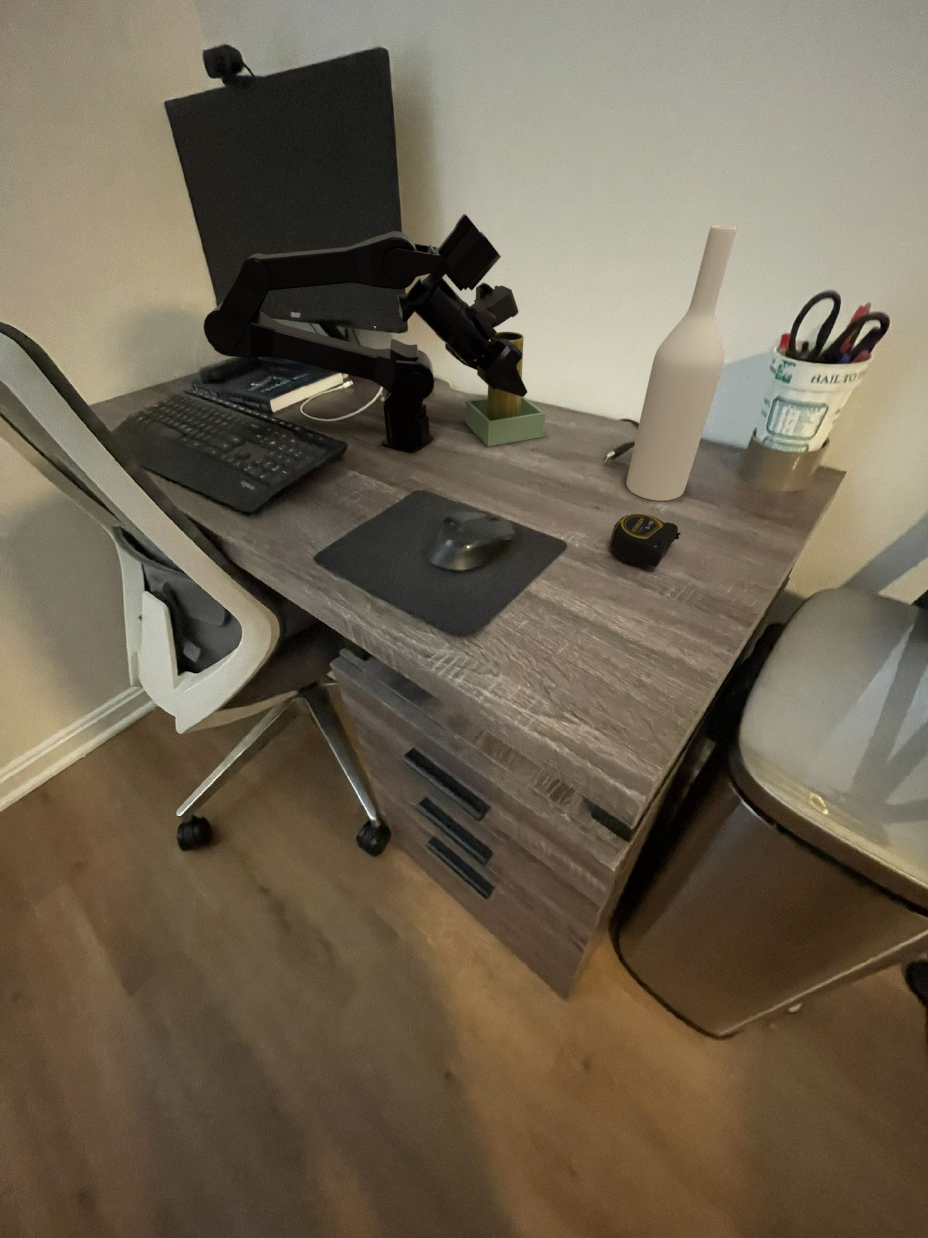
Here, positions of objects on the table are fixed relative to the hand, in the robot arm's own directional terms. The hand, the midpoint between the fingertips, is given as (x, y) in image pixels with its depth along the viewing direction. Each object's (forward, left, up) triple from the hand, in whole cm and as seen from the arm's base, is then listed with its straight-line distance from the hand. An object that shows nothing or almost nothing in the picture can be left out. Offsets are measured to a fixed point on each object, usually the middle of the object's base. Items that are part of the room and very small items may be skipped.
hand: (513, 385), depth 85 cm
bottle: (+27, -9, -7) cm, 30 cm away
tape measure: (+30, -26, -7) cm, 40 cm away
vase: (-1, -1, -7) cm, 7 cm away
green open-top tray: (-1, -1, -7) cm, 7 cm away
